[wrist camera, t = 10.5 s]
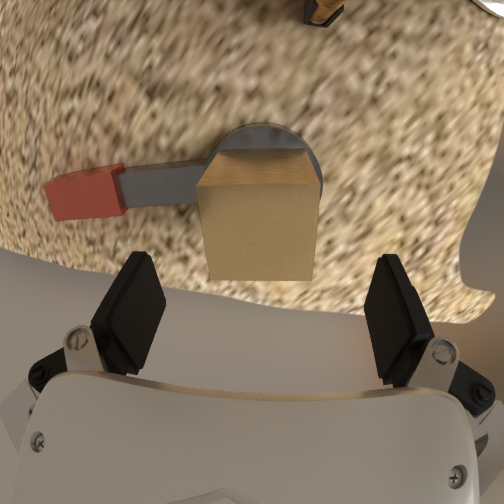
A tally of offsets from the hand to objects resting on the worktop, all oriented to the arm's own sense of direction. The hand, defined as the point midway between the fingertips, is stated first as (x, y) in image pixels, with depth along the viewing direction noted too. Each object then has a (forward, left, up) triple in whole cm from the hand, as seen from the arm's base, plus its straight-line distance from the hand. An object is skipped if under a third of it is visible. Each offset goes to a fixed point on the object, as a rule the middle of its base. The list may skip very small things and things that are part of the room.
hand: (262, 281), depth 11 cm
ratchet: (+9, 0, -13) cm, 16 cm away
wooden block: (0, 0, -11) cm, 11 cm away
